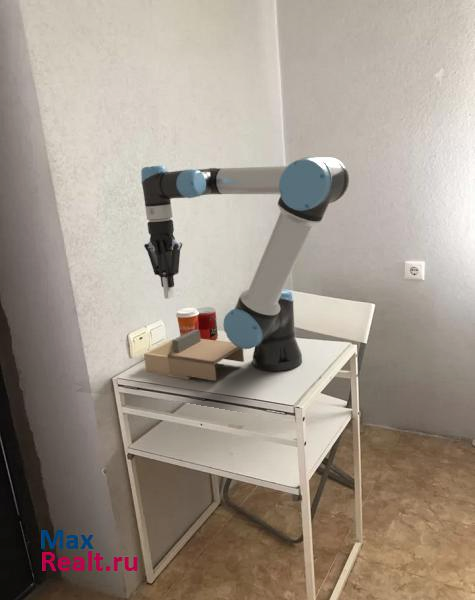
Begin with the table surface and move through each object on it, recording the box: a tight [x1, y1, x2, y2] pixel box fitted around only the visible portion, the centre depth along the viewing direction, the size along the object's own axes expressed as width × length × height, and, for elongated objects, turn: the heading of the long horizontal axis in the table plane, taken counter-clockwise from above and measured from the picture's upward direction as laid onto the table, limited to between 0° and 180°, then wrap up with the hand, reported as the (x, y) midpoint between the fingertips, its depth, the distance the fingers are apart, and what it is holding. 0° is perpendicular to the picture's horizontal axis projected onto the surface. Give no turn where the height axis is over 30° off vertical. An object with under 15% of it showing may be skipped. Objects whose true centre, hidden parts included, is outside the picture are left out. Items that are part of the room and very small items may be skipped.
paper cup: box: [175, 307, 199, 337], centre depth 174 cm, size 8×8×14 cm
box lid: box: [168, 329, 245, 382], centre depth 154 cm, size 16×16×10 cm
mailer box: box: [143, 339, 191, 380], centre depth 160 cm, size 16×14×6 cm
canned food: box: [196, 306, 219, 341], centre depth 185 cm, size 8×8×11 cm
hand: (169, 297), depth 157 cm, fingers closed
